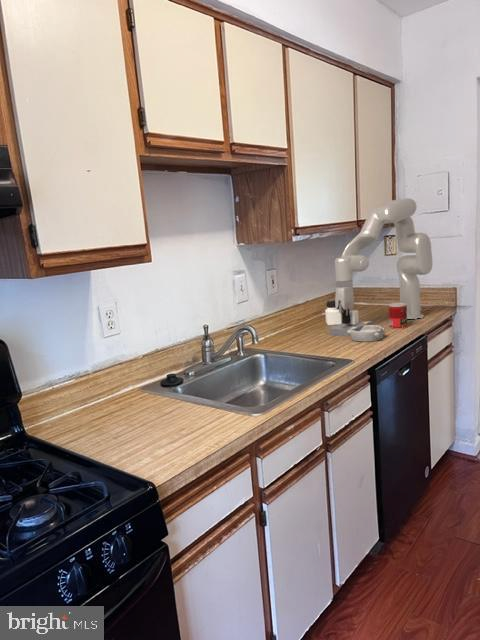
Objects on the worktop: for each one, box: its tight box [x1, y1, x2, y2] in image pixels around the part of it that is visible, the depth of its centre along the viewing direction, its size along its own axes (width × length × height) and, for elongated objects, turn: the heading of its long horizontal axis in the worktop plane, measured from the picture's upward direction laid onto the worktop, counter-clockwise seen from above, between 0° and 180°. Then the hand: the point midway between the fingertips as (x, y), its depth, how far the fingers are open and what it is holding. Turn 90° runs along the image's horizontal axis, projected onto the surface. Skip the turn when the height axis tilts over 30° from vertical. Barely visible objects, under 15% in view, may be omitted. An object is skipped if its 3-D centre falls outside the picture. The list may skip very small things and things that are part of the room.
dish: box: [347, 324, 386, 342], centre depth 205 cm, size 14×14×5 cm
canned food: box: [388, 302, 408, 329], centre depth 221 cm, size 8×8×11 cm
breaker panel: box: [328, 319, 374, 337], centre depth 223 cm, size 20×12×3 cm, turn 139°
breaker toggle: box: [350, 309, 360, 325], centre depth 223 cm, size 4×5×6 cm
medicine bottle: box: [324, 299, 343, 326], centre depth 243 cm, size 7×7×12 cm
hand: (346, 323), depth 219 cm, fingers closed
